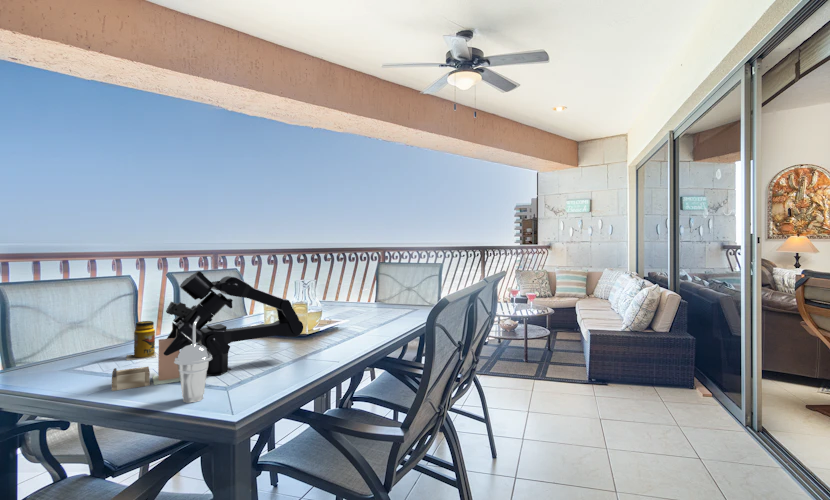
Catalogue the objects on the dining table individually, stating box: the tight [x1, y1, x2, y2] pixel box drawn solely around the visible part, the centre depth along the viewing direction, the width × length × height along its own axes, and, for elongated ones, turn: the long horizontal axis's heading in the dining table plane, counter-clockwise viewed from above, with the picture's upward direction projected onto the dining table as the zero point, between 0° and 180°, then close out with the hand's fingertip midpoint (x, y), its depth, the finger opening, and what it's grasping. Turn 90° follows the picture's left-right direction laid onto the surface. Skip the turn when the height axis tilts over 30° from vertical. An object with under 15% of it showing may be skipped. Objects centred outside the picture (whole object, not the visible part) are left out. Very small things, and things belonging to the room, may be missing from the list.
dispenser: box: [111, 366, 151, 392], centre depth 115 cm, size 8×7×4 cm
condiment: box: [125, 320, 157, 361], centre depth 145 cm, size 7×8×12 cm
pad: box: [152, 373, 181, 386], centre depth 120 cm, size 8×8×1 cm
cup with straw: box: [174, 316, 213, 404], centre depth 105 cm, size 8×9×20 cm
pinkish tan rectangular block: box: [157, 338, 181, 381], centre depth 120 cm, size 5×3×11 cm, turn 125°
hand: (163, 351), depth 120 cm, fingers open, 9 cm apart
